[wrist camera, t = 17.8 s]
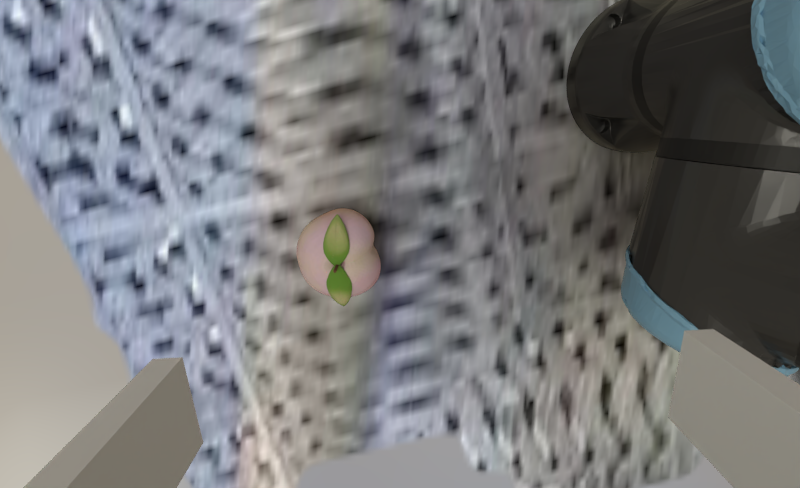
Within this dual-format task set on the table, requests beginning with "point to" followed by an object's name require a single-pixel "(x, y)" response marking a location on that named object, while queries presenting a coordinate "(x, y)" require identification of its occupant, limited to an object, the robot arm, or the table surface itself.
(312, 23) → the table surface
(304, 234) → the decorative fruit
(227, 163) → the table surface
